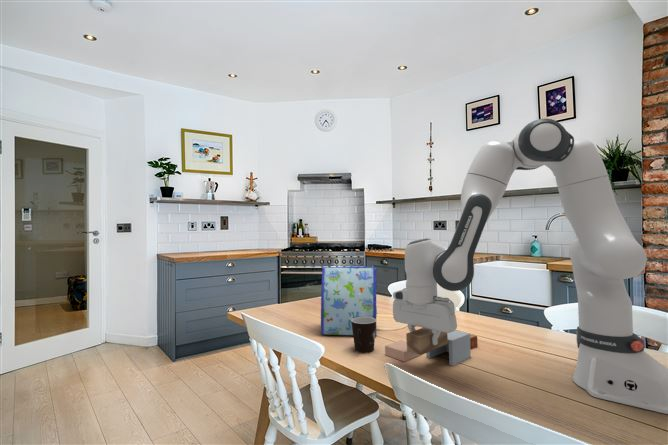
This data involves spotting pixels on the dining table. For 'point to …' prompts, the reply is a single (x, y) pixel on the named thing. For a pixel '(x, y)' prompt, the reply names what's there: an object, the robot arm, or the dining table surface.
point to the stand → (399, 351)
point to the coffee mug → (364, 334)
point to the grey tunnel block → (454, 347)
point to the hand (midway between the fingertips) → (424, 342)
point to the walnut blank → (424, 341)
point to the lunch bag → (346, 297)
